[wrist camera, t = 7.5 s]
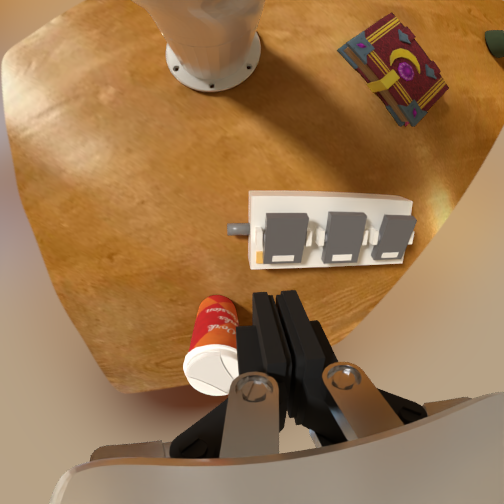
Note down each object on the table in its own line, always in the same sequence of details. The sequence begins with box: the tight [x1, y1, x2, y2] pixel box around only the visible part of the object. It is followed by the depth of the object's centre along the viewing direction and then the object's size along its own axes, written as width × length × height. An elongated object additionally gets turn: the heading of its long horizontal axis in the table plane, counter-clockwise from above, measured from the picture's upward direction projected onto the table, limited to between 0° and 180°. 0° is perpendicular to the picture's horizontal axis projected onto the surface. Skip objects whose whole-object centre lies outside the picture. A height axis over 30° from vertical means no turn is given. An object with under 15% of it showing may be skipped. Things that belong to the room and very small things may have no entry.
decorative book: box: [337, 13, 449, 127], centre depth 33 cm, size 11×16×5 cm
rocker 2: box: [371, 214, 417, 260], centre depth 38 cm, size 7×5×2 cm
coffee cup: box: [183, 295, 239, 396], centre depth 40 cm, size 8×8×15 cm
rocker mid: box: [321, 211, 367, 264], centre depth 37 cm, size 7×5×2 cm
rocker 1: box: [262, 213, 309, 264], centre depth 37 cm, size 7×5×2 cm
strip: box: [227, 191, 414, 269], centre depth 40 cm, size 10×27×6 cm, turn 89°
